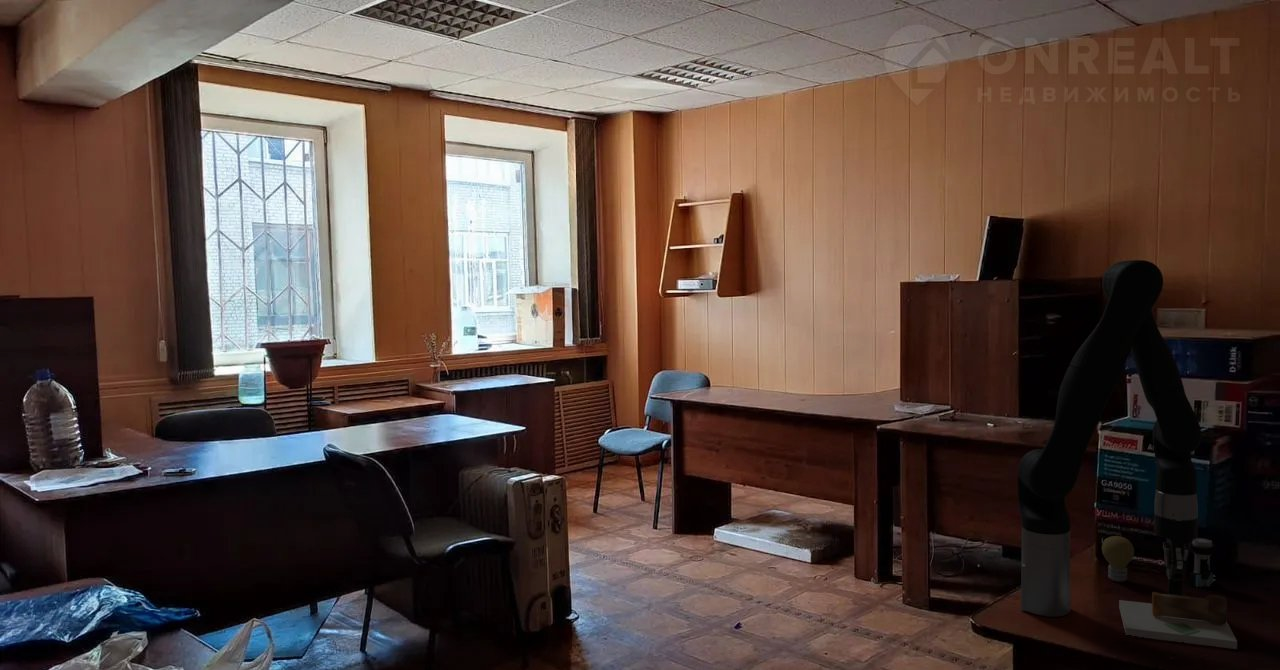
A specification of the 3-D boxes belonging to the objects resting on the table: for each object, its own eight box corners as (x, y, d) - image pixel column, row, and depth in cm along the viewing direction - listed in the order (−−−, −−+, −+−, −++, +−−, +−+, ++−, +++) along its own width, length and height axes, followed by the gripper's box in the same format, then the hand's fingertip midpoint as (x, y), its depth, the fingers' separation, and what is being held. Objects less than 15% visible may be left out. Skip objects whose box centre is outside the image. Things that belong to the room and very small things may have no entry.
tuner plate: (1125, 635, 169) (1125, 627, 168) (1119, 607, 182) (1119, 599, 182) (1237, 649, 161) (1237, 640, 161) (1221, 618, 175) (1221, 610, 175)
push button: (1203, 578, 197) (1203, 534, 196) (1226, 586, 192) (1227, 541, 191) (1181, 582, 194) (1182, 538, 194) (1204, 590, 189) (1205, 545, 189)
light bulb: (1095, 576, 200) (1095, 533, 199) (1121, 574, 201) (1121, 531, 200) (1113, 586, 194) (1113, 542, 193) (1140, 584, 194) (1140, 540, 194)
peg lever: (1224, 619, 170) (1224, 595, 170) (1227, 625, 167) (1228, 601, 167) (1151, 611, 175) (1151, 588, 175) (1153, 617, 172) (1153, 593, 172)
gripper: (1150, 503, 184) (1149, 583, 186) (1158, 520, 172) (1157, 606, 173) (1191, 506, 181) (1190, 587, 182) (1203, 523, 169) (1202, 610, 170)
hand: (1174, 596), depth 178 cm, fingers closed
